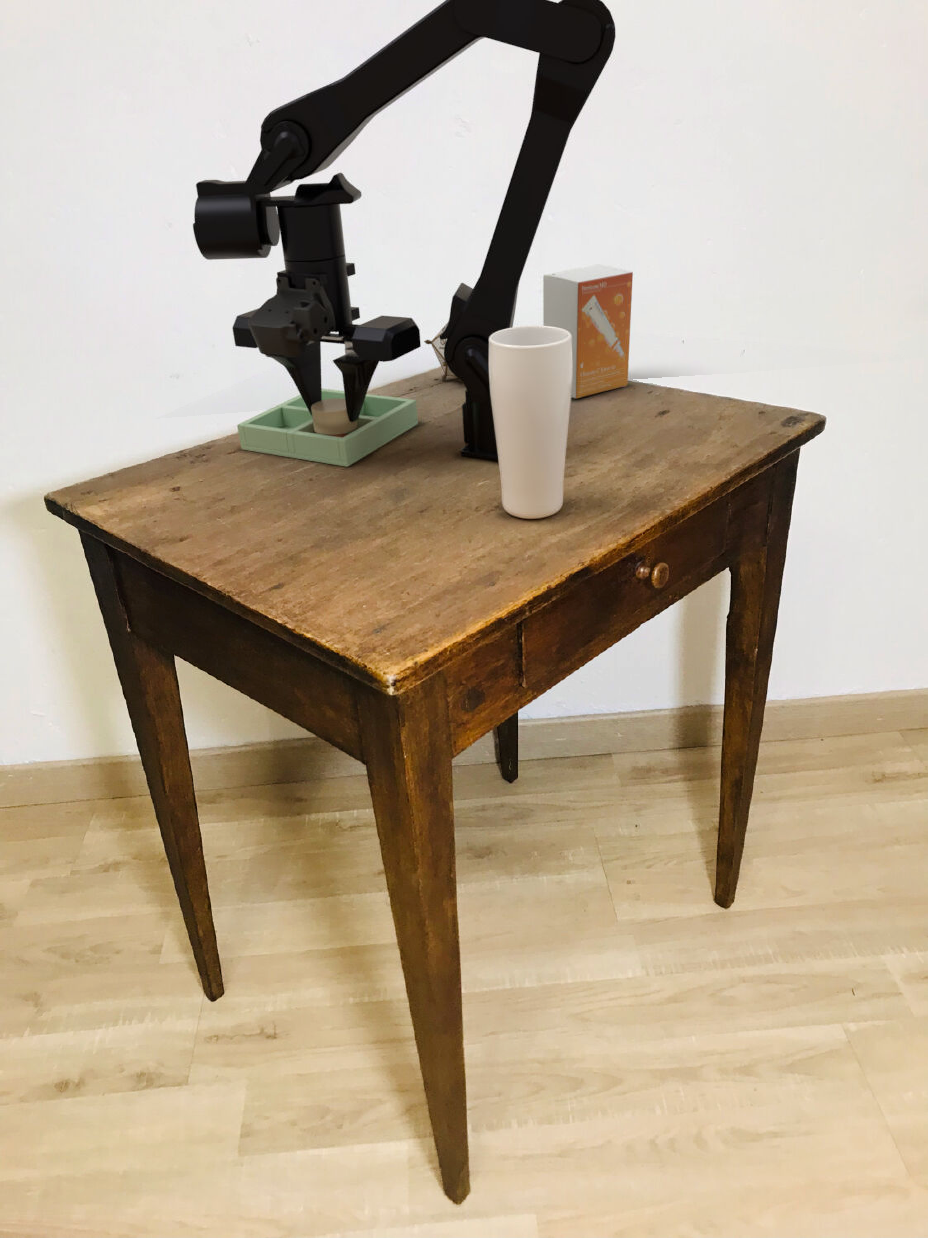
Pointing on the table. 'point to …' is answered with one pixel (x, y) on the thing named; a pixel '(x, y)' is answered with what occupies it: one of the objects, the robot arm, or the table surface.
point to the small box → (592, 323)
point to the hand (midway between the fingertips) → (334, 418)
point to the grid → (296, 438)
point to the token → (331, 417)
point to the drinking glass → (531, 415)
